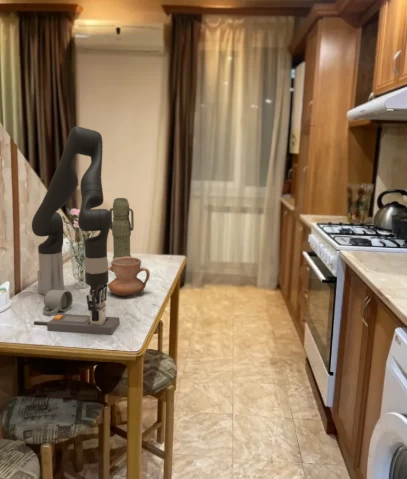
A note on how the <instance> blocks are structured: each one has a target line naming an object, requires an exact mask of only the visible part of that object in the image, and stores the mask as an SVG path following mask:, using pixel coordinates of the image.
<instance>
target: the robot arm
mask: <svg viewBox="0 0 407 479" xmlns="http://www.w3.org/2000/svg"><path fill="white" fill-rule="evenodd" d="M76 155H82V156H86V157H90V165H89V166H88V168H87V169H86V171H85V172H84V173H83V175H82V177H81V179H80V185H79V178H78V174H77V171H76V169H75V168H76V167H75V165H74V158H75V156H76ZM102 165H103V136H102V135H101V133H100V132H99V131H97V130H93V129H89V128H85V127H82V126H74V127H72V129H70V131H69V133H68V136H67V139H66V142H65V145H64V148H63V152H62V154H61V157H60V159H59V163H58V165H57V167H56V170H55V172H54V174H53V176H52V179H51V180H50V183H49V186H48V188H47V191H46V193H45V195H44V198H43V199H42V201H41V203H40V205H39V207H38V208H37V210H36V212H35V213H34V215H33V218H32V221H31V230H32V232H33V234H34V235H35V236H36V237H42V238H43V237H47V238H46V240H44V241H43V242H41V243H40V244H38V246H37V249H38V251H37V252H38V268H39V270H37V272H36V274H37V286H38V288H37V289H38V294H39V295H40V294H41V295H43V296H45V295H46V293H47V292H48V291H50V290H65V282H64V263H63V262H64V260H63V245H64V222H63V217H62V215H61V214H60V213H59V212H58V211H59V210H60V209H61V208H63V207H64V206H65V205H66V204H67V203H68V202H69V201H70V200H71V199H72V198H73V196H74V194H75V192H76V190H77V187H78V185H79V186H80V187H79V188H80V195H81V204H80V205H81V206H80V210H79V214H78V218H77V224H78V228H79V229H80V230H81V231H83V232H99V233H98V234H97V235H95V236H92V237H88V238H86V239H85V241H84V281H85V284H86V286H89V287H90V288H89V291H88V293H89V294H87V295H86V303H87V309H88V312H90V311H92V321H98V320H99V304H100V303H101V302H106V301H107V296H108V295H107V294H108V284H109V270H108V266H109V259H108V246H107V245H108V238H109V237H108V236H109V234H110V233H109V232H110V230H111V229H110V226H111V222H113V215H112V216H111V213H110V212H109V210H108V209H106V208H98V207H100V206H102V204H103V203H104V193H103V183H102V169H103V168H102ZM96 304H97V305H96ZM93 306H94V307H93Z"/></svg>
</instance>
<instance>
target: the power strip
mask: <svg viewBox="0 0 407 479" xmlns="http://www.w3.org/2000/svg"><path fill="white" fill-rule="evenodd" d="M120 322H121V320H120V317H119V316H117V317H116V316H106V323H105V324H104V325H95V324H90V314H87V315H86V314H70V313H56V315H55V316H54V317H52V318H51V320H49V321H40V320H37V321H36V320H34V321H33V324H34V325H40V326H41V325H43V326H45V325H46V326H47V327H46V330H47V331H49V332H64V333H77V334H79V333H80V334H90V335H91V334H94V335H95V334H96V335H107V336H108V335H110V336H112V335H113V334H114V332H115V331H116V330H117V328H118V327H119V325H120Z"/></svg>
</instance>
